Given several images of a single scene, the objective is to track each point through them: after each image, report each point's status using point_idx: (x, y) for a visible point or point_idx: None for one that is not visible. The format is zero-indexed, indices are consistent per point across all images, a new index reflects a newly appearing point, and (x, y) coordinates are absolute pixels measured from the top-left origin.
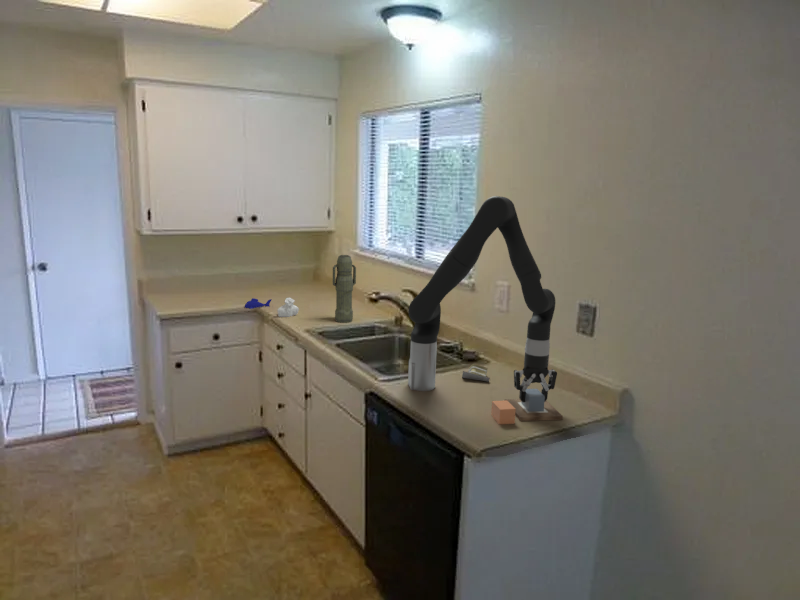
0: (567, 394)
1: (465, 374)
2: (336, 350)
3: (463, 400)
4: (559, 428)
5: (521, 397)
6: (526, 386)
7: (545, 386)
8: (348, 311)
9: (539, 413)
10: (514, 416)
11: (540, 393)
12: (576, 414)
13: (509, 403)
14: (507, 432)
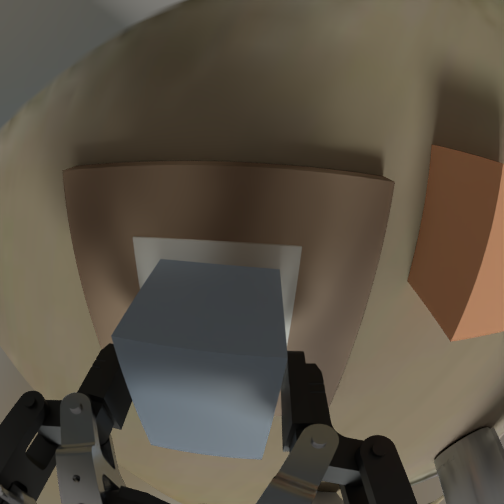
0: (46, 395)
1: (338, 502)
2: (440, 497)
3: (448, 404)
4: (151, 24)
5: (319, 384)
6: (295, 473)
7: (79, 434)
8: None
9: (205, 227)
10: (464, 152)
11: (141, 393)
12: (11, 232)
13: (478, 284)
14: (494, 60)
